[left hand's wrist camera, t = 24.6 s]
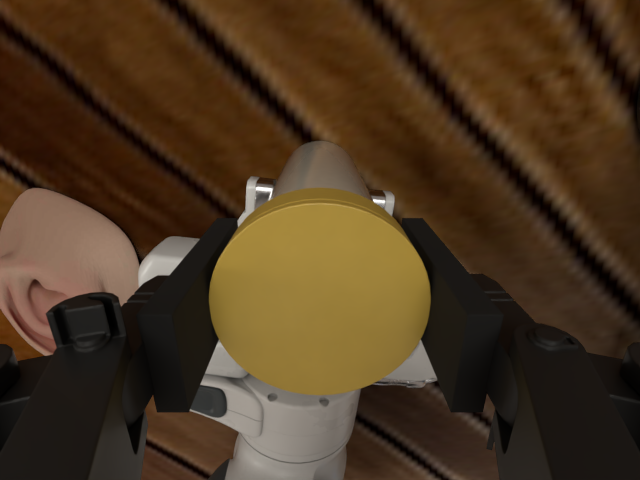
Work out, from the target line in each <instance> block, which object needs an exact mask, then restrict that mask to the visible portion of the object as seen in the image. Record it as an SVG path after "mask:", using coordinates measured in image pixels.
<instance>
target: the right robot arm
mask: <svg viewBox="0 0 640 480" xmlns="http://www.w3.org/2000/svg"><path fill="white" fill-rule="evenodd" d="M275 183H276V179H269V178H261V177H252V176H251V177H250V178H249V180H248V182H247V188H246V209H245V211H244V212H243V213H242V215H241V216H240V218H239V219H238V227H239V226H240V225H241V223H242V222H243V221H244V220H245V219H246V217H247V216H249V215H250V214H251V213H252V212H253V211H254V210H255V209H257V208H258V207H259V206H261V205H262V204H264V203H266V201H267V199H268V197H269V195H270V193H271V191H272V189H273V187H274V185H275ZM368 191H369V193H370V195H371V197H372V199H373V201H374V203H376V204H377V205H379V206H380V207H382V208H383V209H384V210H386V211H387V212H388V213H389V214H390V215H391V216H392V214H393V208H394V195H393V194H392V192H391V191H382V190H371V189H368ZM199 240H200V239H197V238H187V237H177V236H172V237H168V238H166V239H165V240H164V241H162V242H161V243H160V244H159V245H157V246H156V247H155V248H154V249H153V250H152V251H151V252H150V253H149V254H148V255H147V256H146V257H145V259H144V260H143V261H142V263H141V265H140V267H139V271H138V285H139V287H140V286H141V285H142V284H143V283H145V282H146V281H148V280H150V279H152V278H154V277H155V276H157V275H170V274H171V273H172V272H173V270H174V269H175V268H176V267H177V266H178V264H179V263H180V262H181V261H182V260H183V258H184V257H185V256H186V255H187V254H188V253H189V251H190V250H191V249H192V248H193V247H194V245H195V244H196V243H197V242H198V241H199ZM435 381H437V377H436V375H435V373H434V370H433V368H432V365H431V363H430V361H429V358H428V356H427V353H426V351H425V348H424V346H423V344H422V341H421V340H420V341H419V343H418V345H417V347H416V348H415V349H414V351H413V352H412V353H411V355H410V356H409V357H408V358H407V359H406V360H405V361H404V362H403V363H402V364H401V365H400V366H399V367H398V368H397V369H395V370H394V371H393V372H392V373H390V374H389V375H387V376H386V377H384V378H383V379H381V380H379V381H377V382H375V383H373V384H371V385H382V386H388V385H400V386H405V387H408V388H423V387H424V386H425V384H426V383H431V382H435ZM360 391H361V389H358V390H354V391H350V392H347V393H341V394H334V395H305V394H299V393H293V392H289V391H286V390H282V389H279V388H276V387H274V386H271V385H269V384H267V383H265V382H263V381H261V380H259V379H257V378H256V377H254V376H253V375H251V374H250V373H248V372H247V371H245V370H244V369H243V368H242V367H241V366H240V365H238V364H237V363H236V362H235V361H234V359H233V358H232V357H231V356H230V355H229V354H228V352H227V351H226V350H225V348H224V347H223V345H222V344H221V342H220V340H219V341H218V343H217V346H216V348H215V350H214V353H213V355H212V358H211V360H210V362H209V365H208V367H207V370H206V372H205V374H204V377H203V379H202V382H201V384H200V386H199V389H198V391H197V394H196V396H195V399H194V401H193V403H192V406H191V408H190V411H192V412H195V413H198V414H201V415H203V416H206V417H209V418H211V419H214V420H216V421H218V422H221V423H223V424H225V425H227V426H229V427H231V428H233V429H234V430H236V431H238V432H239V434H238V437H237V440H236V443H235V449H234V455H233V459H230V458H229V459H228V460H226V461H225V462H224V463H223V464H221V465H220V466H219V467H218V468H217V470H216V471H215V472H214V473H213V474H212V475H211V477H210V478H209V479H208V480H343V478H344V474H345V469H346V460H347V453H346V444H347V442H348V441H349V439H350V436H351V434H352V431H353V427H354V422H355V417H356V412H357V407H358V402H359V397H360Z"/></svg>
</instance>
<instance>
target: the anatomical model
mask: <svg viewBox="0 0 640 480" xmlns="http://www.w3.org/2000/svg"><path fill="white" fill-rule="evenodd" d="M139 267H140V266H139V262H138V258H137V255H136V252H135V250H134V247H133V245H132V243H131V242H130V240H129V239H128V237H127V236H126V234H125V233H124V232H123V231H122V230H121V229H120V228H119V227H118V226H117V225H115V224H114V223H113V222H112V221H110V220H109V219H108V218H106V217H105V216H104V215H102V214H100V213H99V212H97V211H95V210H94V209H92V208H90V207H88V206H86V205H84V204H82V203H80V202H78V201H76V200H74V199H72V198H69V197H67V196H65V195H62V194H60V193H57V192H54V191H51V190H47V189H42V188H32V189H29V190H27V191H25V192H23V193H22V194H21V195H20V196H19V197H18V198H17V200H16V201H15V202H14V204H13V206H12V207H11V209H10V211H9V213H8V215H7V216H6V218H5V220H4V222H3V225H2V228H1V231H0V309H1V310H2V312H3V313H4V315H5V316H6V317H7V319H8V320H9V321H10V323H11V324H12V325H13V327H14V328H15V329H16V330H17V332H18V333H19V334H20V335H21V336H22V337H23V338H24V339H25V340H26V341H27V343H29V344H30V345H31V346H32V347H33V348H35V349H36V350H37V351H39V352H40V353H42V354H43V355H45V356H47V355H52V354H53V353H54V351H55V349H56V348H57V347H56V344H55V341H54V338H53V335H52V332H51V329H50V326H49V323H48V319H47V316H46V313H47V312H48V311H49V310H50V309H51V308H52V307H53V306H55V305H57V304H58V303H60V302H62V301H64V300H66V299H69V298H72V297H75V296H77V295H82V294H87V293H92V292H108V293H113V294H115V295H116V296H118V297H119V301H120V306H122V305H123V304H124V303H127V300H128V299H129V298H130V297H131V296H132V295H134V293H135V291H136V290H137V289H138V288H139V285H138V271H139Z"/></svg>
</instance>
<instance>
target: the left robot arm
mask: <svg viewBox="0 0 640 480" xmlns="http://www.w3.org/2000/svg"><path fill="white" fill-rule="evenodd" d="M637 120H638V128H639V132H640V86H639V91H638V100H637ZM237 229H238V221H237V218H217V219H216V221H215V222H214V223H213V224H212V225H211V226H210V228H209V229H208V230H207V231H206V232H205V234H204V235H203V236H202V237H201V238H200V240H199V241H198V242H197V243H196V244H195V245H194V247H193V248H192V249H191V250H190V251H189V253H188V254H187V255H186V256H185V257H184V258H183V260H182V261H181V262H180V263H179V264H178V266H177V267H176V268H175V269H174V270H173V272H172V273H171V274H170V275H157V276H155V277H154V278H152V279H150V280H148V281H146V282H145V283H143V284H142V285H141V286H140V287H139V288H138V289H137V290H136V291H135V293H134V295H132V296H131V297H130V298H129V299H128V300H127V303H124V304H123V305H122V306H120V301H119V297H118V296H116V295H115V294H113V293H108V292H92V293H87V294H82V295H77V296H75V297H72V298H69V299H66V300H64V301H62V302H60V303H58V304H57V305H55V306H53V307H52V308H51V309H50V310H49V311H48V312H47V313H46V316H47V319H48V323H49V326H50V329H51V332H52V335H53V338H54V341H55V344H56V347H57V348H56V349H55V351H54V353H53V354H52V355H47V356H42V357H37V358H32V359H26V360H21V361H17V359H16V357H15V354H14V352H13V349H12V348H11V347H9V346H8V345H6V344H0V480H141V473H142V465H143V457H144V450H145V442H146V435H147V427H148V423H147V417H146V412H145V408H146V406H147V404H148V402H149V401H150V399H151V397H152V395H153V396H154V400H155V405H156V409H157V412H189V411H190V408H191V406H192V403H193V401H194V399H195V396H196V394H197V391H198V389H199V386H200V384H201V382H202V379H203V377H204V374H205V372H206V370H207V367H208V365H209V362H210V360H211V358H212V355H213V353H214V350H215V348H216V346H217V343H218V341H219V338H218V336H217V334H216V332H215V329H214V326H213V324H212V320H211V314H210V306H209V288H210V281H211V278H212V274H213V270H214V268H215V266H216V264H217V261H218V259H219V257H220V256H221V254H222V252H223V251H224V249H225V248H226V246H227V244H228V243H229V241H230V240H231V238H232V236H233V235H234V233H235V232H236V230H237ZM402 229H403V230H404V232H405V234H406V235H407V237H408V238H409V240H410V242H411V243H412V245H413V246H414V248H415V250H416V251H417V253H418V255H419V256H420V258H421V259H422V262H423V264H424V266H425V269H426V271H427V275H428V279H429V283H430V290H431V304H430V312H429V319H428V323H427V326H426V329H425V331H424V334H423V336H422V338H421V341H422V344H423V346H424V348H425V351H426V353H427V356H428V358H429V361H430V363H431V365H432V368H433V370H434V373H435V375H436V377H437V380H438V382H439V385H440V387H441V389H442V392H443V394H444V397H445V399H446V401H447V404H448V406H449V409H450V411H451V412H483V408H484V404H485V399H486V394H488V395H489V397H490V399H491V401H492V403H493V404H494V406H495V412H494V417H493V421H492V425H491V430H490V434H489V438H488V443H487V449H489V450H492V447H493V443H494V442H495V449H496V456H497V464H498V472H499V479H500V480H640V342H637V343H633V344H631V345H630V346H628V348H627V351H626V353H625V356H624V359H623V360H622V359H617V358H612V357H607V356H602V355H596V354H591V353H587V352H586V351H585V349H584V347H583V346H582V345H581V343H580V342H579V341H578V340H577V339H576V338H574V337H573V336H571V335H570V334H568V333H567V332H564V331H562V330H560V329H557V328H555V327H552V326H548V325H544V324H538V323H535V322H534V321H533V319H532V318H531V317H530V316H529V315H528V314H527V313H526V312H525V311H524V310H523V309H522V308H521V307H520V306H519V305H518V304H517V303H516V302H515V301H513V299H512V297H511V296H510V295H509V294H508V293H506V291H505V290H504V289H503V288H502V287H501V286H500V285H499V284H498V283H497V282H496V281H494V280H492V279H490V278H489V277H487V276H485V275H483V274H469V273H468V272H467V271H466V269H465V268H464V267H463V266H462V265H461V264H460V262H459V261H458V260H457V259H456V258H455V256H454V255H453V254H452V253H451V252H450V250H449V249H448V248H447V247H446V246H445V245H444V243H443V242H442V241H441V240H440V239H439V237H438V236H437V235H436V234H435V233H434V232H433V230H432V229H431V228H430V227H429V226H428V224H427V223H426V222H425V221H424V220H423V218H402Z"/></svg>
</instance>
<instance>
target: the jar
mask: <svg viewBox="0 0 640 480" xmlns="http://www.w3.org/2000/svg"><path fill="white" fill-rule="evenodd" d="M320 187H321V188H335V189H340V190H345V191H349V192H352V193H355V194H358V195H361V196H363V197H365V198H367V199H369V200H371V201H373V199H372V197H371V195H370V193H369V191H368V189H367V187H366V185H365V183H364V181H363V179H362V177H361V176H360V174H359V172H358V170H357V168H356V166H355V164H354V162H353V160H352V158H351V157H350V156H349V154H348V153H347V152H346V151H345V150H344V149H342V148H341V147H339V146H338V145H336V144H333V143H330V142H326V141H314V142H310V143H307V144H304V145H302V146H301V147H299V148H298V149H296V150H295V151H294V152H293V153H292V154H291V156H290V157H289V159H288V160H287V162H286V164H285V166H284V168H283V170H282V172H281V174H280V176H279V177H278V179H277V181H276V183H275V185H274V187H273V189H272V191H271V193H270V195H269V197H268V199H267V201H269V200H271V199H273V198H275V197H277V196H279V195H282V194H285V193H288V192H291V191H295V190H300V189H305V188H320ZM267 201H266V202H267ZM373 202H374V201H373Z"/></svg>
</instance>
